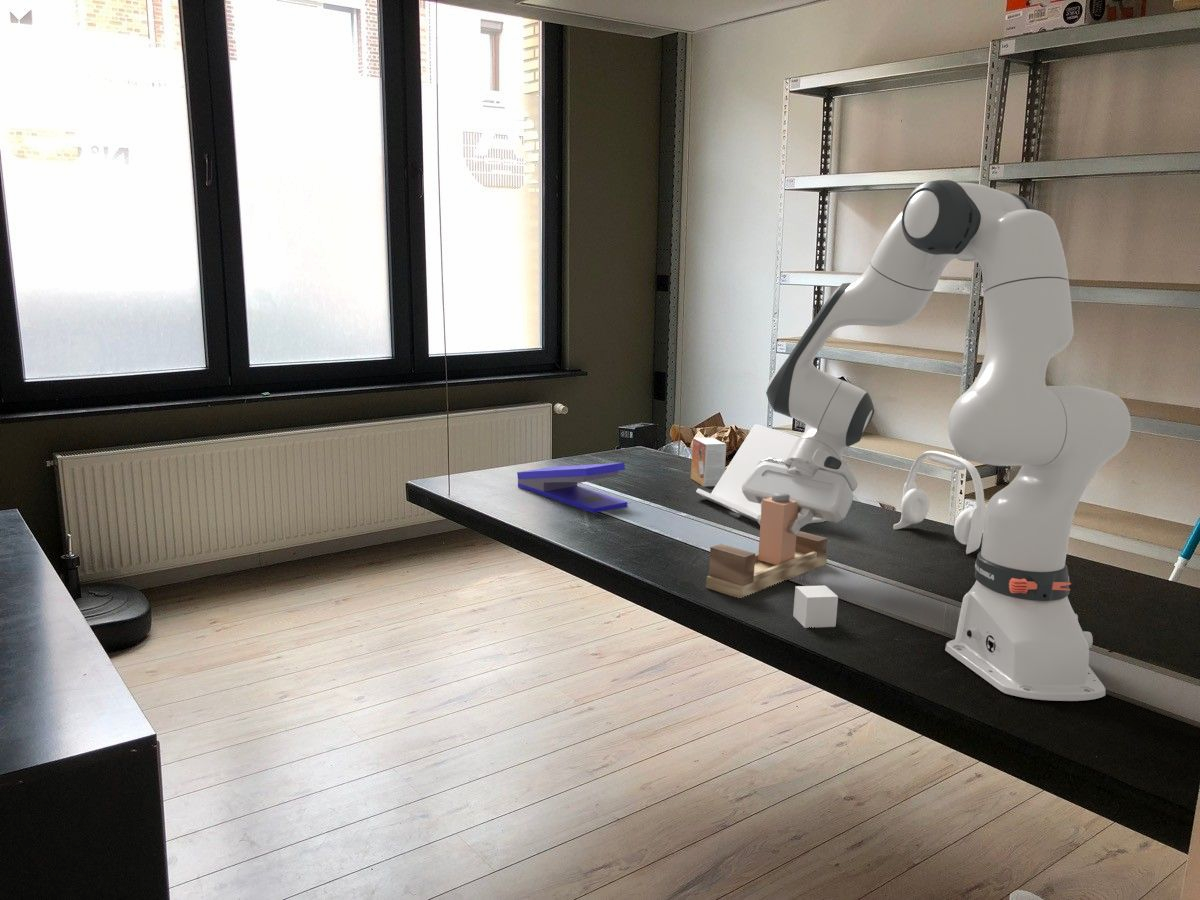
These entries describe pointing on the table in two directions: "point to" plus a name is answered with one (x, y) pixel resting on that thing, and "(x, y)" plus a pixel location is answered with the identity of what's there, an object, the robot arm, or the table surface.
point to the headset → (918, 502)
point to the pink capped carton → (777, 529)
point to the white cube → (815, 606)
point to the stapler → (573, 485)
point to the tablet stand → (750, 469)
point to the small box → (708, 461)
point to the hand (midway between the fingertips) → (776, 528)
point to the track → (761, 566)
